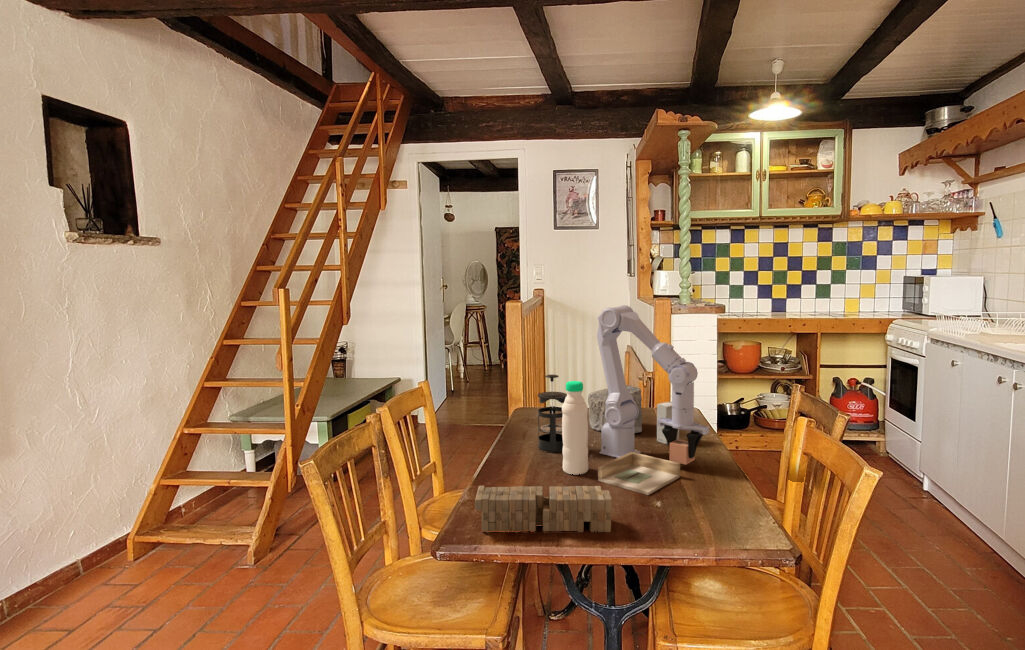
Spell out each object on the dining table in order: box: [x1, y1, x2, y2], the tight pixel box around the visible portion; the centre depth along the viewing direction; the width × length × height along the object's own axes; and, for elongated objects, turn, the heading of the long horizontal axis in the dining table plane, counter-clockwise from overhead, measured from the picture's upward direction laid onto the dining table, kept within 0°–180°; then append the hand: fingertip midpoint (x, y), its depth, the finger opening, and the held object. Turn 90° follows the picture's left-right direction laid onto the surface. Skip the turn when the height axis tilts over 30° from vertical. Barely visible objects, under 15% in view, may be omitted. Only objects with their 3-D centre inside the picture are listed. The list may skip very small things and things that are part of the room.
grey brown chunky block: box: [587, 384, 643, 434], centre depth 205 cm, size 19×17×15 cm
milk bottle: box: [561, 380, 589, 476], centre depth 164 cm, size 7×7×25 cm
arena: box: [597, 452, 681, 496], centre depth 158 cm, size 15×16×4 cm
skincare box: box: [656, 401, 680, 445], centre depth 189 cm, size 6×4×12 cm
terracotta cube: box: [668, 438, 696, 465], centre depth 166 cm, size 5×5×5 cm
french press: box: [537, 374, 567, 453], centre depth 185 cm, size 12×9×23 cm
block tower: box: [474, 485, 613, 533], centre depth 132 cm, size 8×8×29 cm
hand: (682, 455), depth 166 cm, fingers closed on terracotta cube, 5 cm apart
